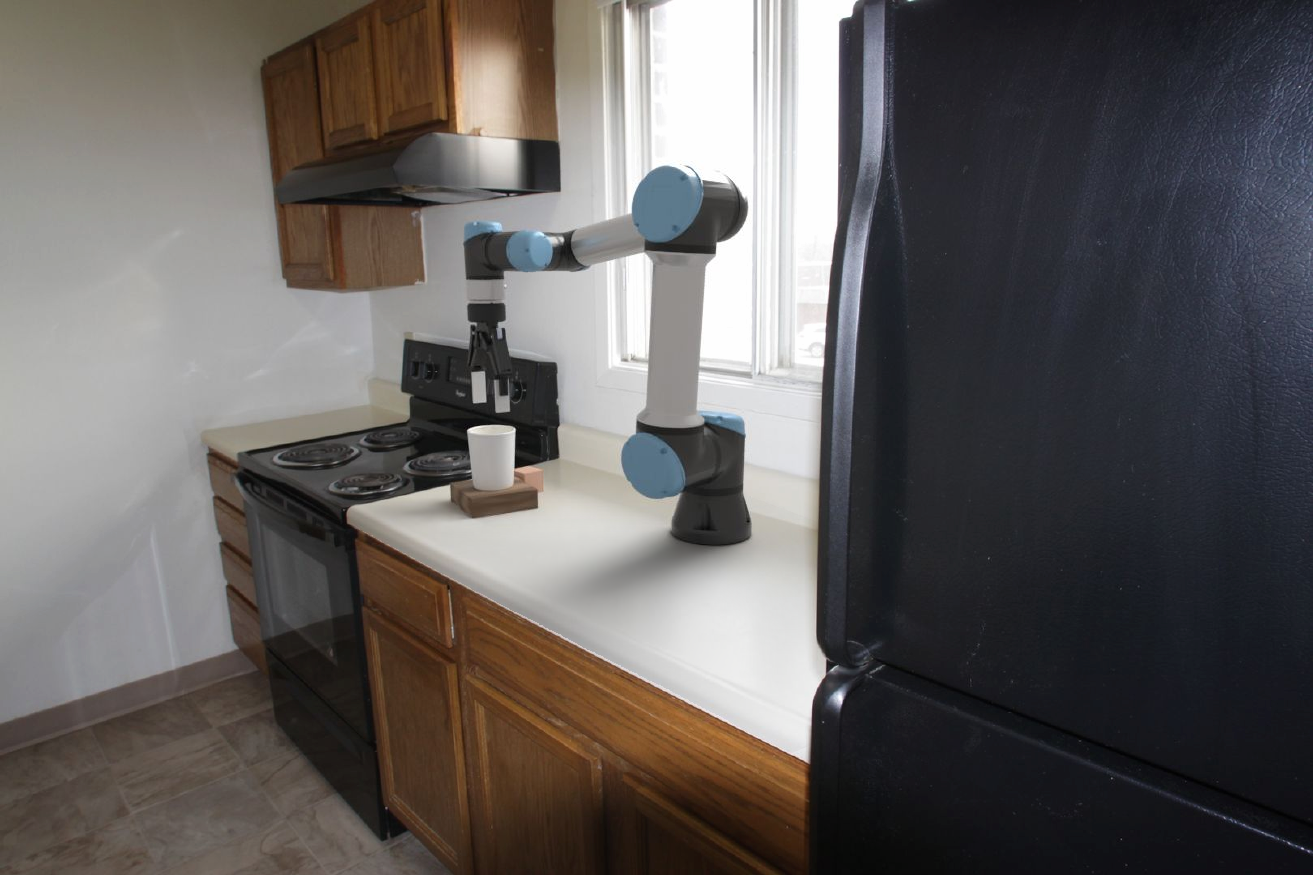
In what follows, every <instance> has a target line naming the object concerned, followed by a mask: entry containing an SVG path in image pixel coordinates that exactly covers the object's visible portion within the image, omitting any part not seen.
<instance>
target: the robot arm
mask: <svg viewBox="0 0 1313 875" xmlns="http://www.w3.org/2000/svg"><path fill="white" fill-rule="evenodd" d="M748 214H749V201H748V196H747V192H746V191H745V189H744V187H743V186H742V184H741V183H740V182H739V181H738V180H737V179H736V178H735V177H733V176H732V175H730V174H729V173H725V172H723V171H718V170H711V169H705V168H700V167H695V166H691V165H686V164H685V165H682V164H665V165H659V166H658V167H656V168H654V169H652V170H650V171H649V172H648V173H647V174H646V175H645V177H644V178H642V179H641V180H640V182H639V184H638V185H637V187H636V189H635V191H634V195H633V197H632V202H631V212H630V213H627V214H623V215H620V216H616V217H612V218H609V219H606V220H603V221H599V222H596V223H592V224H589V225H586V226H582V227H578V228H576V229H575V228H574V229H572V230H568V231H565V232H549V231H547V232H546V231H540V230H539V231H538V230H533V229H521V230H514V231H504V230H503V226H502V224H501V223H500V222H498V221H469V222H466V223H465V224H464V226H463V242H462V245H463V251H464V252H463V253H464V268H465V269H464V270H465V271H464V274H465V298H466V300H467V301H469V303H467V305H466V310H467V313H466V314H467V321H468V322H470V323H476V324H470V328H469V329H470V332H469V334H470V336H469V343H468V352H467V361H466V367H467V368H469V371H470V373H471V374H470V376H471V394H472V403H473V404H480V403H481V404H482V403H487V388H486V387H487V386H486V385H487V384H486V371H487V368H486V366H485V363H486V360H487V355H488V356H489V359H490V362H491V366H492V369H493V371H494V374H495V375H494V376H493V378H492V381H494V384H493V385H494V404H495V405H494V406H495V408H494V409H495V413H497V414H498V413H499V414H500V413H508V412H511V407H510V406H511V404H510V400H511V399H510V381H509V380H510V378H511V377H514V370H513V365H512V360H511V355H510V351H509V346H508V342H507V334H506V333H507V332H506V328H505V327H499V323H502V322H505V321H506V320H507V316H506V314H507V313H506V311H507V310H506V304H505V302H503V301H504V300H505V299H506V298H505V297H506V294H505V292H506V291H505V290H506V289H507V285H506V284H505V272H522V273H536V272H570V273H576V272H581V271H586V270H589V269H590V267H591V266H593V265H597V264H601V263H606V262H609V261H613V260H618V259H622V258H626V257H631V256H635V255H638V254H642V253H644V254H645V255H646V256H647V257H648V258H649V260H651V263H652V277H651V278H652V279H651V280H652V281H651V297H650V298H651V299H650V300H651V302H650V315H649V316H650V320H649V321H650V322H649V339H648V362H647V379H646V381H647V382H646V401H645V404H646V405H645V407H644V408H643V409H642V410H640V412H639V413H637V415H636V420H635V422H636V423H635V424H636V425H635V434H632V435H631V436H630V437H629V438H628V439H627V441H625V442H624V443H623V446H622V449H621V454H620V456H621V457H620V462H621V468H622V471H623V473H624V476H625V478H626V480H627V482H629V483H630V484H631V486H632V488H633V489H634V491H636V492H637V493H638V494H640V495H642V496H643V497H646V498H648V499H653V500H661V499H662V500H663V499H666V498H673V497H676V496H679V497H678V499H677V500H678V501H677V503H676V505H675V506H676V507H675V509H674V513H673V516H672V517H671V523H670V524H671V525H670V526H671V529H670V530H671V534H672V535H673V536H674V537H676V538H678V539H679V540H682V541H685V542H688V543H692V544H699V545H718V546H719V545H730V544H735V543H739V542H743V541H745V540H747V539H748V538H750V537H751V536H752V529H753V528H752V524H753V523H752V519H751V516H750V513H749V512H750V511H749V509H748V505H747V502H746V498H745V495H744V480H745V479H744V478H745V477H744V474H745V452H746V450H745V449H746V448H745V447H746V446H745V444H746V438H747V437H746V436H747V435H746V433H745V432H746V430H745V427H746V426H745V421H744V420H745V419H744V418H743V417H742V416H741V415H739V414H735V413H732V412H731V413H729V412H723V411H713V410H700V409H699V410H698V409H697V408H698V395H699V394H698V390H699V376H700V374H699V373H700V361H701V345H702V329H703V328H702V327H703V314H704V302H705V301H704V300H705V286H706V285H705V283H706V271H707V270H706V269H707V266H708V264H709V263H710V262H711V261H712V260H714V258H715V257H716V256H717V244H719V243H722V242H726V241H728V240H731V239H732V238H733V237H735V236H736V235H737V234H738V233H739V232H740V231H741V230H742V228H743V226H744V225H745V222H746V220H747V217H748Z"/></svg>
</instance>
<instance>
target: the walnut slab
mask: <svg viewBox="0 0 1313 875" xmlns="http://www.w3.org/2000/svg"><path fill="white" fill-rule="evenodd" d="M449 490H450V493H449V494H450V501H451V503H453V504H454V505H455V506H457V507H458V508H459V509H460V510H461V511H463V512H464V513H465V514H467V515H468V516H469V517H470V518H471V519H475V518H477V519H478V518H481V517H482V518H483V517H489V516H490V517H491V516H496V515H502V514H508V513H514V512H520V511H527V510H528V511H529V510H532V509H534V510H535V509H538V508H539V493H538V489H536V488H535V487H533V486H531V485H530V484H528V483H526V482H524V481H523V480H521V479H519V478H518V477H516V476H514V484H513V486H512V487H510V488H508V489H504V490H498V491H483V490H478V489H475V488H474V486H473V480H472V479H469V480H468V479H467V480H462V481H461V480H459V481H454V482H449Z"/></svg>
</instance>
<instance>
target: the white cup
mask: <svg viewBox="0 0 1313 875" xmlns="http://www.w3.org/2000/svg"><path fill="white" fill-rule="evenodd" d="M516 430H517V429H516V428H515V427H514V426H511V425H503V424H489V425H488V424H486V425H479V426H473V427H470V428H468V429H467V430H466V433H467V440H468V441H467V443H468V451H469V458H470V460H469V461H470V470H471V478H472V479H471V480H473V486H474V488H475V489H478V490H483V491H498V490H504V489H508V488H510V487H512V486H513V484H514V469H515V457H516V456H515V454H516V451H515V449H516Z"/></svg>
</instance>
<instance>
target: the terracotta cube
mask: <svg viewBox="0 0 1313 875" xmlns="http://www.w3.org/2000/svg"><path fill="white" fill-rule="evenodd" d="M514 476H516V477H518V478H519V479H521V480H523V481H524V482H526V483H528V484H530V485H531V486H533V487H535V488H536V489H538V494H539V493H543V492H544V469H541V468H538V467H534V466H531V465H528V466H523V467H517V468H514Z"/></svg>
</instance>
